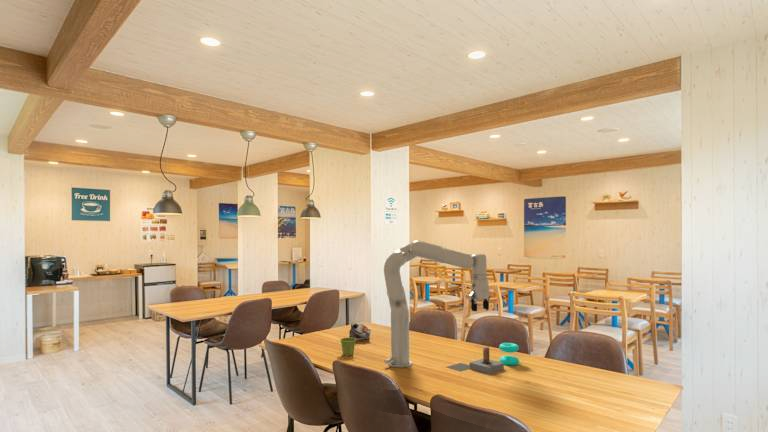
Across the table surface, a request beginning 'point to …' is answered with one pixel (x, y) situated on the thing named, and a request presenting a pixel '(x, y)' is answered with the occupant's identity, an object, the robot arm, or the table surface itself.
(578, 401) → the table surface
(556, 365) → the table surface
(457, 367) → the mat
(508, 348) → the donuts
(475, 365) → the socket block
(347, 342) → the plant pot
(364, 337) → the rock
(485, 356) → the dowel
